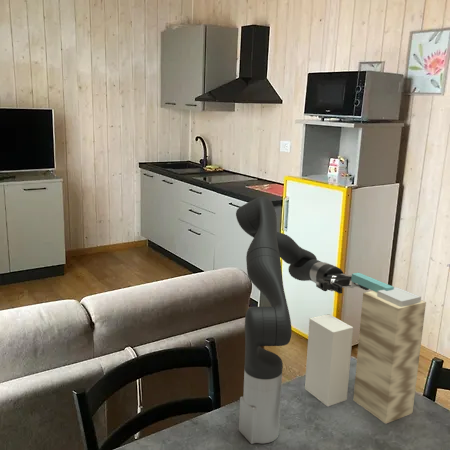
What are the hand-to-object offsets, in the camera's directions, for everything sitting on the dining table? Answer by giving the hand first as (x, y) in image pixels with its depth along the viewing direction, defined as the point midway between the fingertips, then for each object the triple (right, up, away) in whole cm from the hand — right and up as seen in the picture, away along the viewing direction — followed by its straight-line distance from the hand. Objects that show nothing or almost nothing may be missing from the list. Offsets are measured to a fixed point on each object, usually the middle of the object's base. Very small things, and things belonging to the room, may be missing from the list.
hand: (354, 288), depth 141 cm
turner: (+5, 0, -7) cm, 9 cm away
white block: (-8, -31, +2) cm, 32 cm away
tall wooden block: (+7, -32, -3) cm, 33 cm away
